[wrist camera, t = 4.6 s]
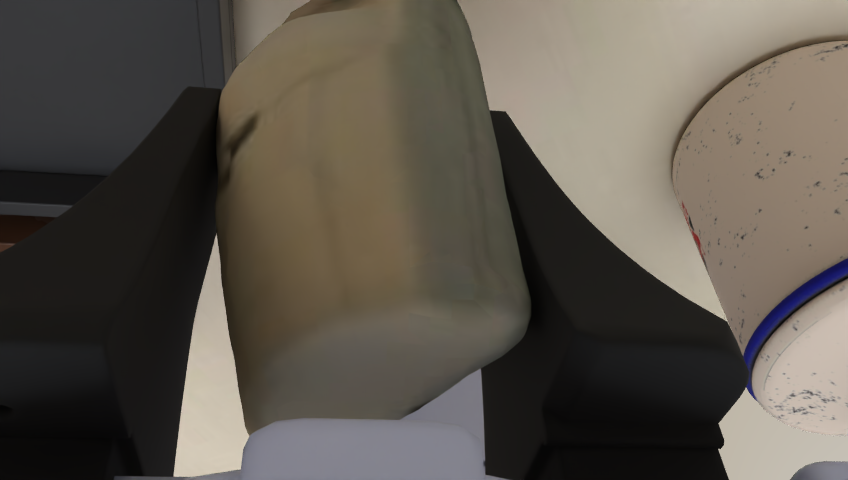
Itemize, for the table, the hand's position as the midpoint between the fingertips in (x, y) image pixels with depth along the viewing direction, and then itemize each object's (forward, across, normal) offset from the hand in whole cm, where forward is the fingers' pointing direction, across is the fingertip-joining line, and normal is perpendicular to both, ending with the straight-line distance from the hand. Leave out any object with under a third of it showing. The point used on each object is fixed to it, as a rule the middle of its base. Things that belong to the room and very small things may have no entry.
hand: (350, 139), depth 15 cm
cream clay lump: (+2, 0, 0) cm, 2 cm away
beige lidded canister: (+8, -17, +6) cm, 20 cm away
